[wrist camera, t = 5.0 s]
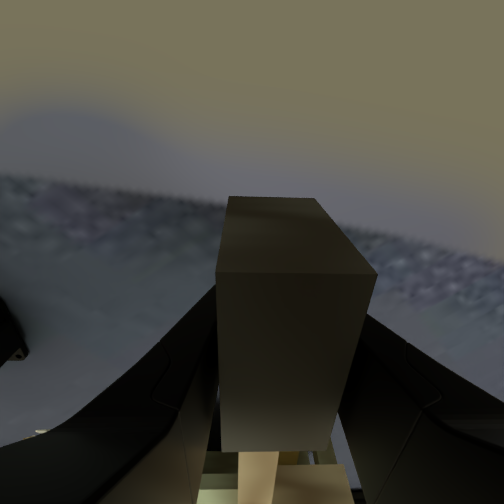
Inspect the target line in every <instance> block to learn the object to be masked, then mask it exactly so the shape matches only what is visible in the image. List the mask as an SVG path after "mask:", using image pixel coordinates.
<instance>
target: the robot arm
mask: <svg viewBox="0 0 504 504" xmlns="http://www.w3.org/2000/svg"><path fill="white" fill-rule="evenodd" d="M27 356H28V352H27V350H26V348H25V346H24V344H23V342H22V340H21V337H20V335H19V333H18V331H17V329H16V327H15V325H14V323H13V321H12V319H11V317H10V315H9V313H8V311H7V309H6V307H5V305H4V303H3V301H2V300H1V299H0V368H1V367H2V365H3V364H4V363H5V362H6V361H21V360H24V359H25V358H26V357H27ZM218 386H219V362H218V333H217V304H216V284H215V285H214V286H213V287H212V288H211V289H210V290H209V291H208V292H207V293H206V294H205V295H204V296H203V297H202V298H201V299H200V300H199V301H198V302H197V303H196V304H195V305H194V306H193V307H192V308H191V309H190V310H189V311H188V312H187V313H186V314H185V315H184V316H183V317H182V318H181V319H180V320H179V321H178V322H177V323H176V324H175V325H174V326H173V327H172V328H171V330H170V331H169V332H168V333H167V334H166V335H165V336H164V337H163V338H162V339H161V340H160V342H158V343H157V344H156V345H155V346H154V347H153V348H152V349H151V350H150V351H149V352H148V353H146V354H145V355H144V356H143V357H142V358H141V359H140V360H139V361H138V362H137V363H136V364H135V365H134V366H132V367H131V368H130V369H129V370H128V371H127V372H126V373H124V374H123V375H122V376H121V377H120V378H118V379H117V380H116V381H115V382H114V383H112V384H111V385H110V386H109V387H108V388H106V389H105V390H104V391H103V392H102V393H100V394H99V395H98V396H97V397H96V398H94V399H93V400H92V401H91V402H90V403H88V404H87V405H86V406H85V407H83V408H82V409H81V410H80V411H79V412H77V413H76V414H75V415H73V416H72V417H71V418H69V419H68V420H66V421H65V422H63V423H62V424H60V425H59V426H57V427H55V428H53V429H51V430H49V431H47V432H45V433H42V434H39V435H36V436H33V437H30V438H27V439H24V440H21V441H18V442H15V443H12V444H9V445H6V446H3V447H0V504H197V499H198V493H199V488H200V483H201V477H202V472H203V467H204V461H205V456H206V450H207V445H208V440H209V434H210V429H211V424H212V418H213V413H214V407H215V402H216V397H217V391H218ZM338 414H339V417H340V420H341V424H342V427H343V430H344V433H345V436H346V439H347V442H348V446H349V449H350V452H351V455H352V458H353V461H354V465H355V468H356V471H357V474H358V477H359V480H360V483H361V487H362V490H363V493H364V496H365V499H366V502H367V504H504V402H502V401H500V400H499V399H497V398H495V397H494V396H492V395H491V394H489V393H487V392H486V391H484V390H482V389H481V388H479V387H477V386H476V385H474V384H472V383H471V382H469V381H467V380H466V379H464V378H462V377H461V376H459V375H458V374H456V373H454V372H453V371H451V370H450V369H448V368H446V367H445V366H443V365H441V364H440V363H438V362H437V361H435V360H434V359H432V358H431V357H429V356H428V355H426V354H425V353H423V352H422V351H420V350H419V349H417V348H416V347H415V346H413V345H412V344H410V343H407V341H406V340H404V339H403V338H401V337H400V336H399V335H397V334H396V333H394V332H393V331H391V330H390V329H388V328H387V327H386V326H384V325H383V324H381V323H380V322H378V321H377V320H376V319H374V318H373V317H371V316H370V315H368V314H367V313H366V316H365V320H364V323H363V327H362V330H361V333H360V337H359V340H358V344H357V347H356V350H355V354H354V357H353V361H352V364H351V368H350V371H349V374H348V378H347V381H346V385H345V388H344V391H343V395H342V398H341V402H340V405H339V408H338Z"/></svg>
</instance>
